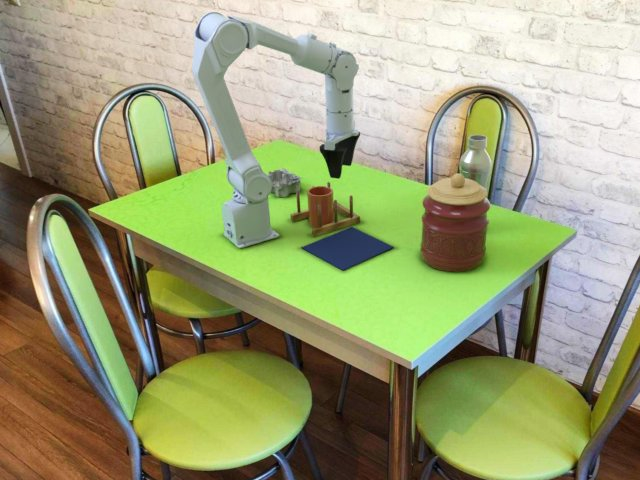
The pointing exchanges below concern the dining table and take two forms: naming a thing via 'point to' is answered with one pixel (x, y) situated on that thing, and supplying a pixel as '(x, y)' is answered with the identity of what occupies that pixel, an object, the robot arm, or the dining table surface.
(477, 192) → the kitchen canister
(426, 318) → the dining table surface
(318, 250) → the cloth
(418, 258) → the dining table surface
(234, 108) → the robot arm
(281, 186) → the egg carton
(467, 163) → the plastic bottle
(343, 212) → the drying rack
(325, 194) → the tumbler
